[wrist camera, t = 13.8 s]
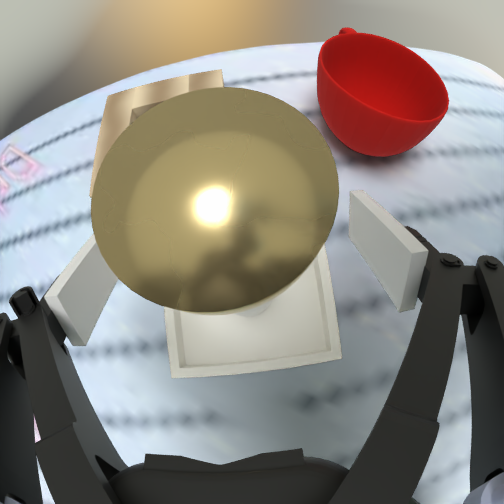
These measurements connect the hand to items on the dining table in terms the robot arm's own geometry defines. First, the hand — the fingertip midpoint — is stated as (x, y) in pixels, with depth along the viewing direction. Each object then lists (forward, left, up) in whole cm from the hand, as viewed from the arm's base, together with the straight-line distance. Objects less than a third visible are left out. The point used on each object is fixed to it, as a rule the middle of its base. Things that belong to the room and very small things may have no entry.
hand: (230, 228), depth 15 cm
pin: (0, +2, -10) cm, 11 cm away
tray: (0, +2, -11) cm, 12 cm away
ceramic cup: (-15, -16, -12) cm, 25 cm away
